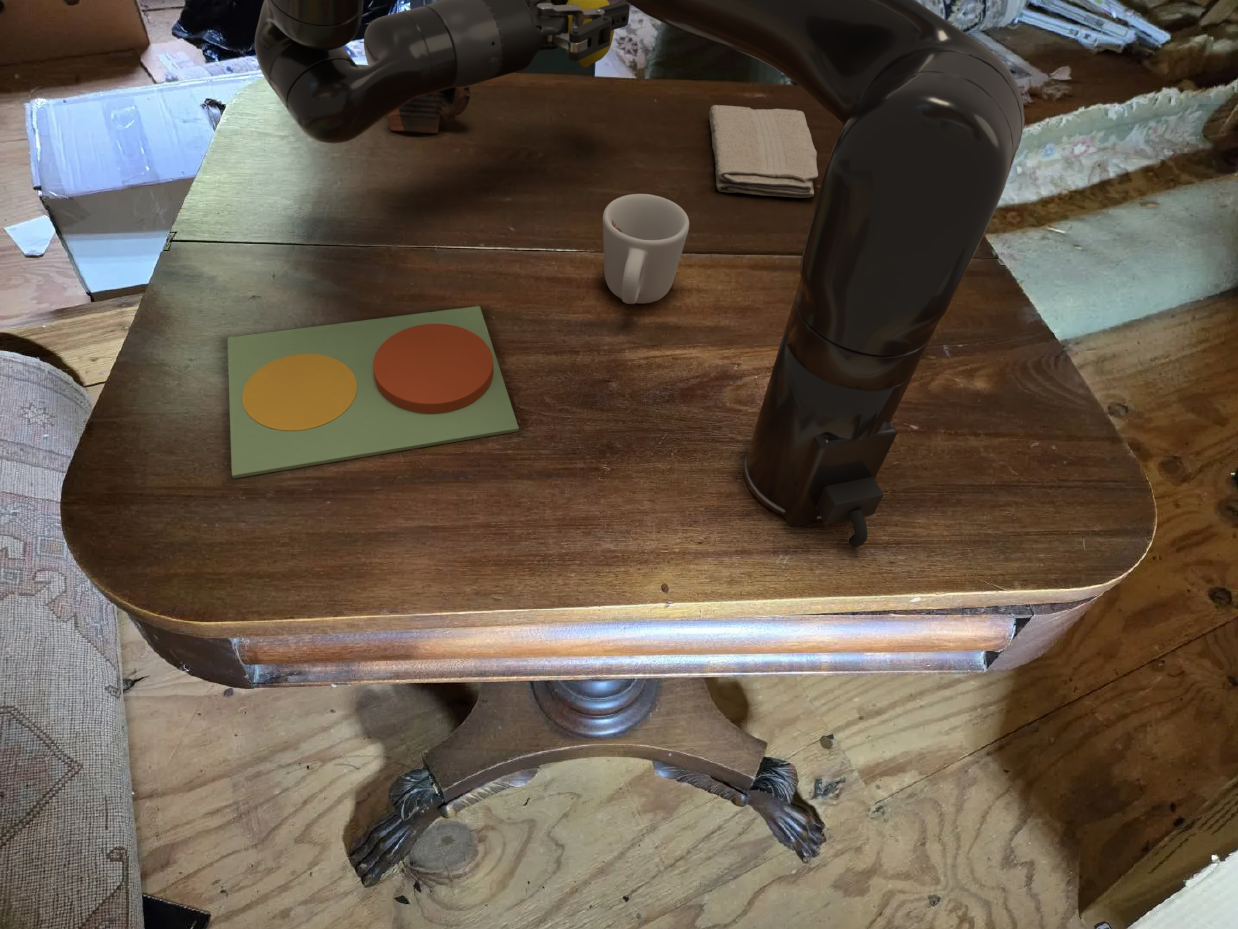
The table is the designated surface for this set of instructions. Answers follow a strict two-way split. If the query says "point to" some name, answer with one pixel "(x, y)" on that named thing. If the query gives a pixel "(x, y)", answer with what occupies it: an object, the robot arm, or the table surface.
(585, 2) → the lemon
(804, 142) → the washcloth
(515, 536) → the table surface
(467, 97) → the pottery mug
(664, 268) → the cup
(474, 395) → the placemat
